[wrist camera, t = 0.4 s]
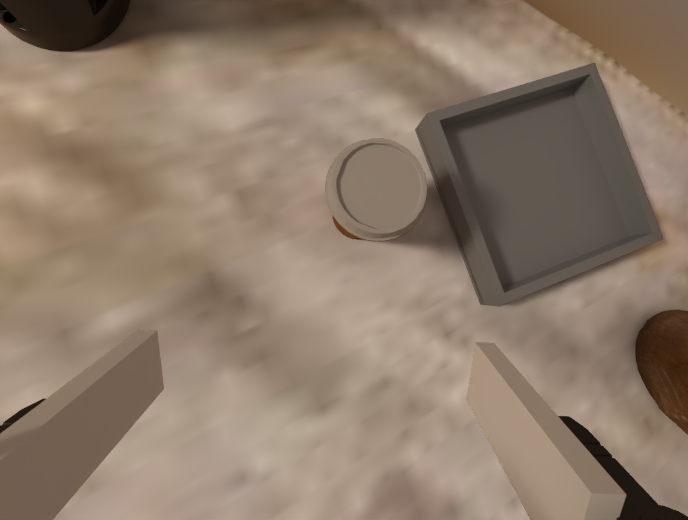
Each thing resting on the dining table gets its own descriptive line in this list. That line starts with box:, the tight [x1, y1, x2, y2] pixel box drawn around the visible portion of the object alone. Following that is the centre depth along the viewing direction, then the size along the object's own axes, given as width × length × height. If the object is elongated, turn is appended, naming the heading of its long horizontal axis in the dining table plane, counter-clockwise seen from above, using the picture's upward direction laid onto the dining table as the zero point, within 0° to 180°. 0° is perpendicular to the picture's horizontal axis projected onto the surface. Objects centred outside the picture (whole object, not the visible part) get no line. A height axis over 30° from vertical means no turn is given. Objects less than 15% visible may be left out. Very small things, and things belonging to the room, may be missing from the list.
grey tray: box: [415, 63, 663, 306], centre depth 42 cm, size 24×24×4 cm
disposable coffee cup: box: [325, 139, 427, 241], centre depth 35 cm, size 10×10×12 cm
